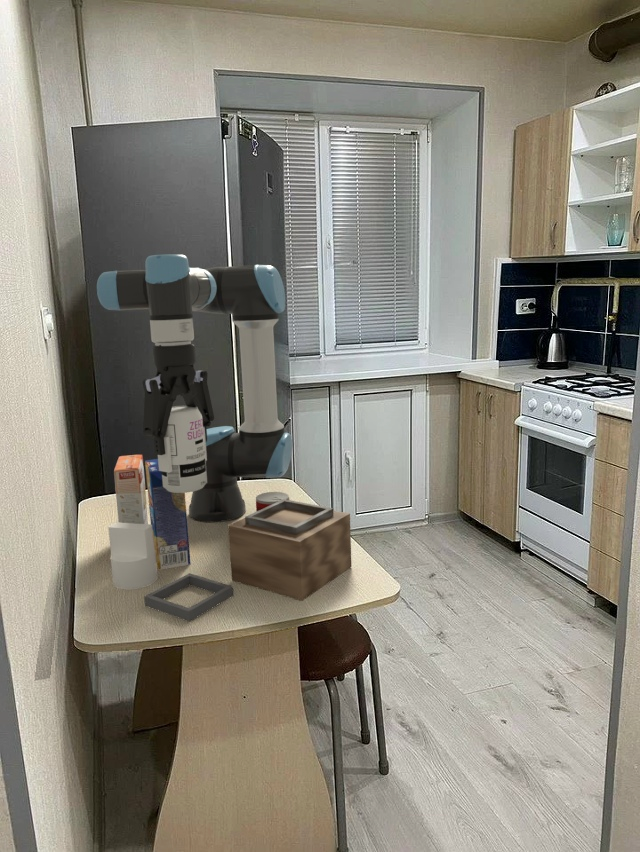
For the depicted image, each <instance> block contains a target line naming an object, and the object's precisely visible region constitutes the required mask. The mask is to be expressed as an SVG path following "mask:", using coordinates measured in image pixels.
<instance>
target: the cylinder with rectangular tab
mask: <svg viewBox="0 0 640 852" xmlns="http://www.w3.org/2000/svg"><path fill="white" fill-rule="evenodd" d="M107 529H108V537H109V538H108V539H109V540H108V541H109V547H110V549H109V550H110V566H111V574H112V583H113V586H114V587H115V588H117V589H120V590H125V589H126V590H129V589H130V590H138V588H139V589H142V588H145V586H146V587H148V586H151V585H152V584H154V583H155V582H156V581H157V580H158V578H159V577H158V569H157V568H158V565H157V562H156V554H155V549H154V540H153V529H152V525H151V524H149V523H148V524H134V523H120V522H119V521H118V522H114V523H112V524H109V526H108V527H107Z"/></svg>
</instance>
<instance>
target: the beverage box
mask: <svg viewBox="0 0 640 852" xmlns="http://www.w3.org/2000/svg"><path fill="white" fill-rule="evenodd" d="M144 464H145V465H144V466H145V474H146V475H145V476H146V487H147V495H148V496H147V497H148V506H149V508H148V509H149V519H150V520H149V521H150V525H152V529H153V540H154V549H155V554H156V565H157V568H158V570H159V571H160V570H164V569H165V570H166V569H172V568H177V567H183V566H189V565H191V554H190V552H191V551H190V542H189V541H190V540H189V539H190V538H189V528H188V514H187V503H186V493H173V492H169V491H167V490H166V489H165V488H164V487H163V481H162V471H159V464H158V458H156V459H147V460H144Z"/></svg>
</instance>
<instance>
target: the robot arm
mask: <svg viewBox="0 0 640 852" xmlns="http://www.w3.org/2000/svg"><path fill="white" fill-rule="evenodd" d="M144 262H145V265H144V266H145V269H133V270H132V269H130V270H113V271H104V272H102V273H101V274H100V275H99V277H98V279H97V281H96V282H97V283H96V292H97V298H98V301H99V303H100V305H101V306H102V307H103V308H104V309H106V310H108V311H118V312H119V311H121V312H122V311H136V310H148V312H149V325H150V328H149V329H150V338H151V342H152V343H154V345H153V346H152V348H151V349H152V360H153V364H154V366H155V367H156V375H155V377H153V378H151V379H150V378H147V379H146V378H145V379H143V380H142V385H143V391H144V401H143V402H144V406H143V407H144V408H143V426H142V427H143V428H142V434H143V435H145V436H149V437H152V439H153V446H154V447H153V448H154V454H155V455H157V459H158V464H159V471H163V472H168V473H170V472H172V461H171V449H170V438H169V437H168V436H165V435H166V431H167V426H168V420H169V417H170V413H171V409H172V407H173V404H174V402H175V401H176V400H177V396H180V397H182V398H183V400H184V401H183V402H184V403H185V406H188V407H195V408H196V407H198V410H199V411H200V413H201V415H202V420H203V433H204V447H205V460H206V473H207V483H206V484H205V485H204V487H203V488H202V489H200V490H197V491H193V492H191V493H192V494H191V499H190V503H189V506H188V514H189V518H190V519H192V520H193V521H197V522H201V523H218V522H219V523H220V522H228V521H230V520H234V519H238V518H240V517H241V516H243V515H245V513H246V501H245V500H244V498H243V495H242V492H241V490H240V488H239V484H238V478H265V479H270V478H281V477H283V476H285V474H286V473H287V471H288V469H289V466H290V463H291V458H292V452H293V451H292V450H293V439H292V435H291V433H288V432H285V425H284V424H283V423H282V422H281V421H280V420H279V419H278V418H279V417H278V400H277V399H278V397H277V377H276V374H277V373H276V354H275V338H274V326H275V325H276V324H277V323H278V322H279V314H282V313H283V312H284V311H285V310H286V294H285V293H286V292H285V287H284V283H283V279H282V277H281V275H280V273H279V271H278V270H277V268H276V267H275V266H272V265H269V264H253V265H234V266H215V267H209V268H208V267H207V268H205V269H203V268H200V267H198V266H195V267H190V264H189V259H188V257H187V256H186V255H184V254H177V253H176V254H173V253H172V254H171V253H169V254H154V255H149V256H147V257H146V259H145V261H144ZM193 312H200V313H206V314H208V313H209V314H217V315H231V319H232V323H233V324H235V326H236V327H237V328H238V331H239V334H238V335H239V348H240V350H239V351H240V367H241V379H242V380H241V381H242V396H243V397H242V398H243V412H244V416H243V417H244V422H242V423H241V425H240V426H239V428H238V430H239V432H235V431H236V430H235V428H234V427H233V426H229V425H223V426H217V427H216V426H215V427H211V428H207V427H210V426H211V424H212V423H211V422H213V421H214V419H215V415H214V409H213V406H212V400H211V395H210V389H209V386H208V375H209V374H208V372H207V370H197V369H195V366H194V365H195V364H196V362H197V356H196V353H197V352H196V345H195V344H194V343H192V341H193V340H194V339H195V331H194V320H193V319H194V317H193ZM159 429H160V430H159Z"/></svg>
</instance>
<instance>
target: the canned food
mask: <svg viewBox="0 0 640 852" xmlns="http://www.w3.org/2000/svg"><path fill="white" fill-rule="evenodd" d="M283 499H286V500H290V495H289V494H288V493H286V492H280V491H269V492H263V493H260V494H258V495H257V496H256V497H255V508H256V510H255V512H257V511H259V510H261V509H263V508H266V507H268V506H270V505H272V504H274V503H277V502H279V501H281V500H283Z"/></svg>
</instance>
